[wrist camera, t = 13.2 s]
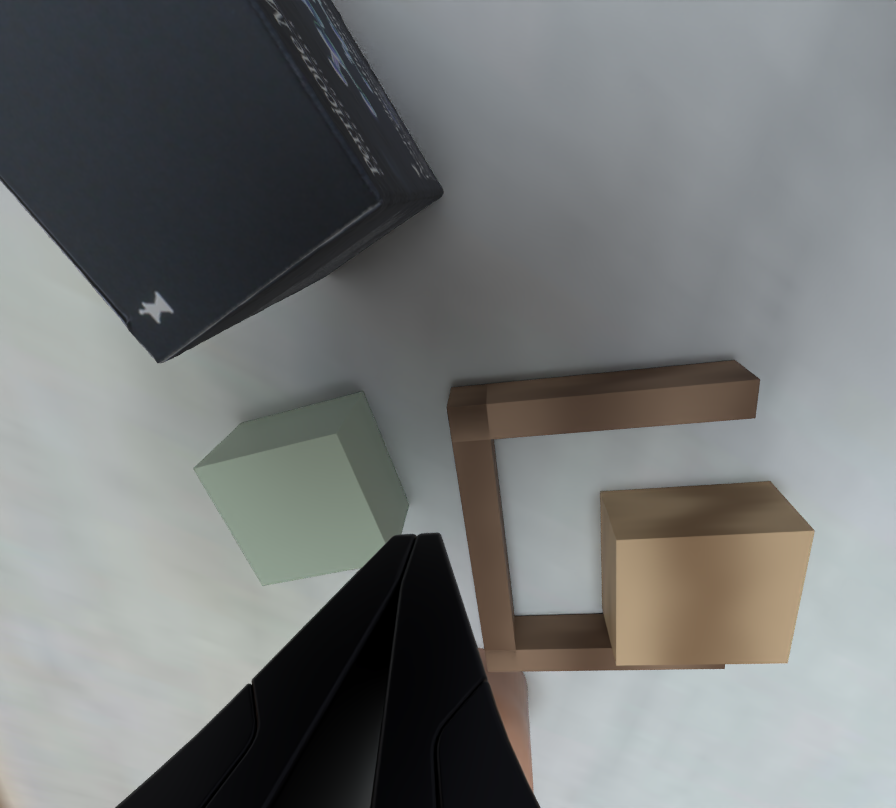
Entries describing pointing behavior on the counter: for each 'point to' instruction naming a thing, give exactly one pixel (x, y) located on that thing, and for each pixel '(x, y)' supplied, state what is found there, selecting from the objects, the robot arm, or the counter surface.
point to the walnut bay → (558, 412)
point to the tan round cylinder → (513, 712)
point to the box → (200, 152)
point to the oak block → (702, 573)
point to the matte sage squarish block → (307, 489)
